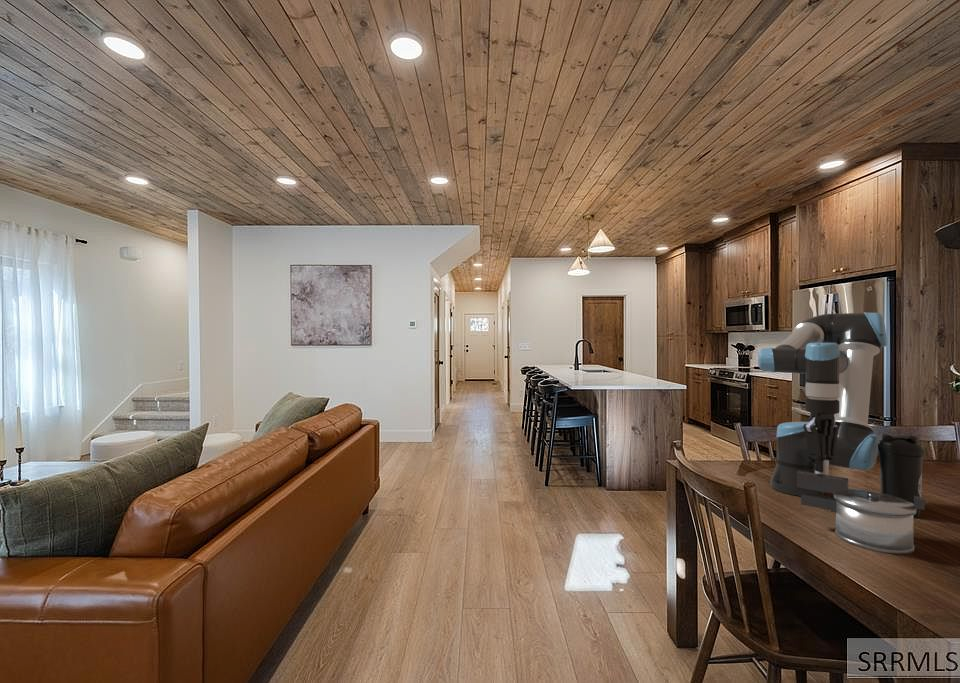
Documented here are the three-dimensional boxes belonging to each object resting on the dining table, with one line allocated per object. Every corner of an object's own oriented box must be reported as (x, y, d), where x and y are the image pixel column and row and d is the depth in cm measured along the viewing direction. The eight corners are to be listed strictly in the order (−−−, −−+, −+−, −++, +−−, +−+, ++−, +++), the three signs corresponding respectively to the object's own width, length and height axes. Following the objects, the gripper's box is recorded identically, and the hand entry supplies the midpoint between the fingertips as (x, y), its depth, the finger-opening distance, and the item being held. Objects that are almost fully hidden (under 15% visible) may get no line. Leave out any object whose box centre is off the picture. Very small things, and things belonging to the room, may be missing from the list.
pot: (912, 539, 117) (912, 504, 117) (916, 560, 105) (916, 522, 105) (804, 516, 132) (805, 485, 132) (797, 533, 120) (798, 499, 120)
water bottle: (928, 521, 129) (929, 440, 129) (881, 514, 134) (881, 436, 134) (918, 510, 137) (918, 434, 137) (874, 503, 143) (874, 430, 143)
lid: (922, 504, 116) (922, 484, 116) (926, 523, 104) (926, 500, 104) (801, 483, 133) (801, 465, 133) (793, 497, 121) (793, 478, 121)
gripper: (821, 395, 132) (821, 476, 132) (793, 397, 127) (792, 482, 127) (851, 398, 125) (851, 483, 125) (822, 401, 120) (822, 490, 120)
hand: (821, 482), depth 126 cm, fingers closed
